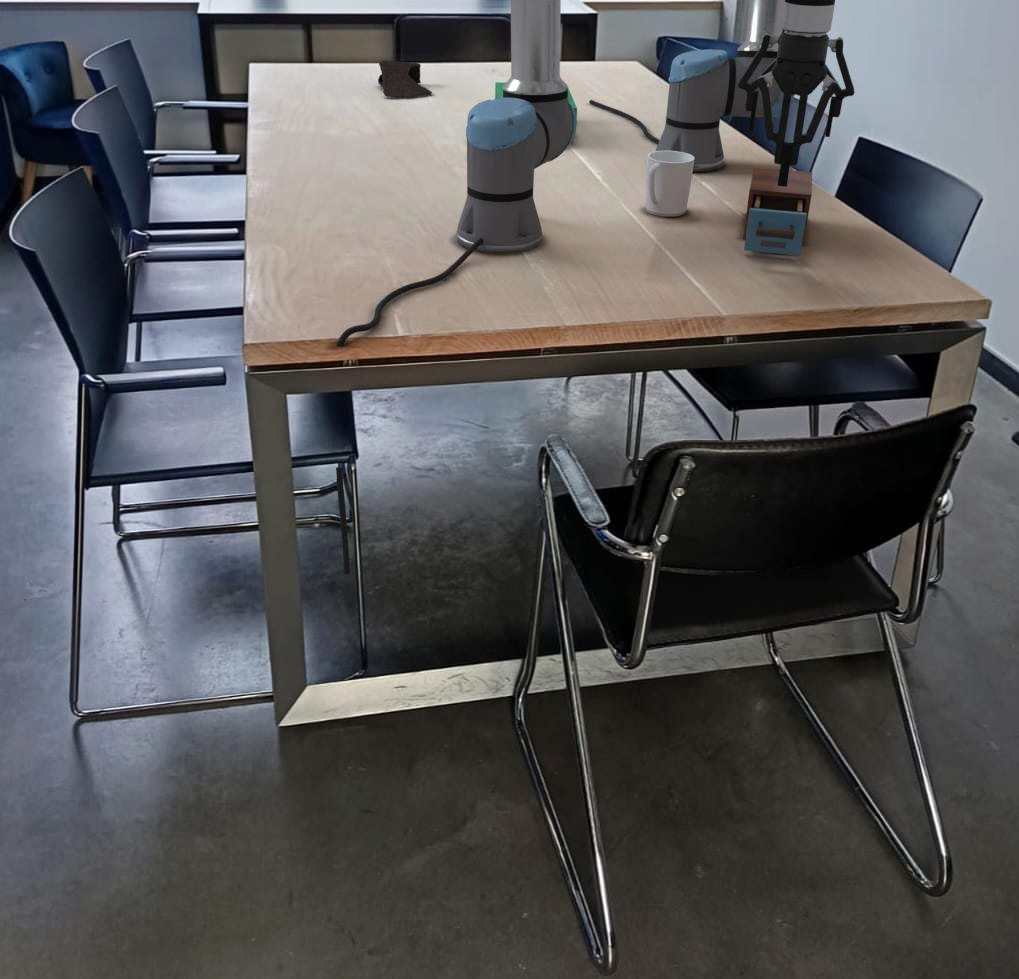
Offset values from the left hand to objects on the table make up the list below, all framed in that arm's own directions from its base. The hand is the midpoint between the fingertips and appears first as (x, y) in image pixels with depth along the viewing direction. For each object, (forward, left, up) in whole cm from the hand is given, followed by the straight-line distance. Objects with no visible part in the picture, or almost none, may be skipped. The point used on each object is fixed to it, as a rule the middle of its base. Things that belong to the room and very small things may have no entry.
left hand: (782, 183), depth 182 cm
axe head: (+121, +90, -14) cm, 152 cm away
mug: (+25, +19, -14) cm, 34 cm away
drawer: (+6, -1, -13) cm, 14 cm away
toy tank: (+87, +51, -14) cm, 101 cm away
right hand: (+23, -3, +3) cm, 23 cm away
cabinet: (+18, -2, -14) cm, 23 cm away
